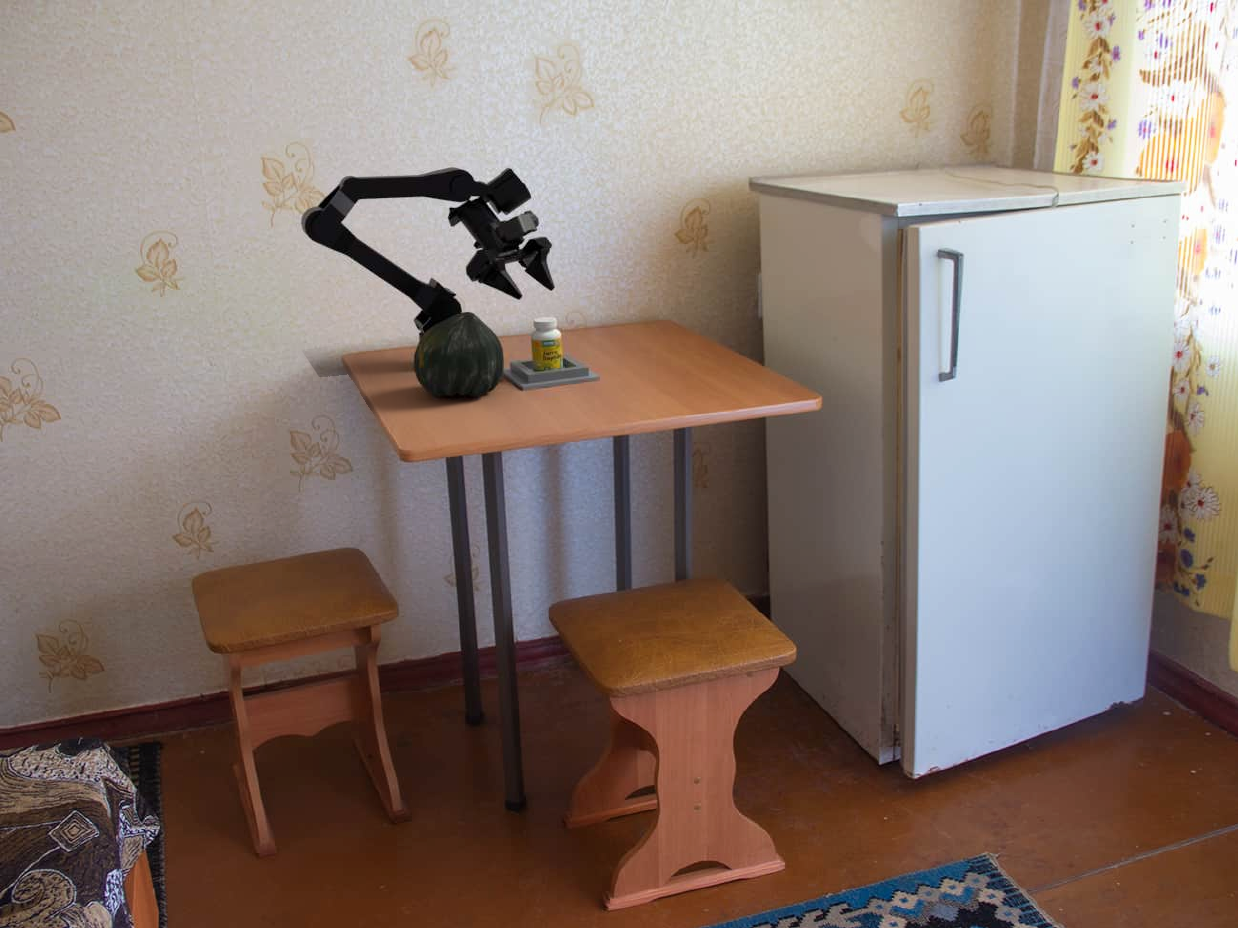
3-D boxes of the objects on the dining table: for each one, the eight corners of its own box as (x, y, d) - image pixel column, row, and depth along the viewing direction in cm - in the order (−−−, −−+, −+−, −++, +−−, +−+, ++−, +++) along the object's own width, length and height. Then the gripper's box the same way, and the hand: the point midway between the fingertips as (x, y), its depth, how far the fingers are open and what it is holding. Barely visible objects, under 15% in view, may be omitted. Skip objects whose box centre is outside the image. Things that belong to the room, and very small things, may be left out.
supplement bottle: (553, 367, 210) (550, 314, 207) (569, 372, 206) (566, 319, 203) (527, 372, 207) (524, 319, 204) (542, 378, 203) (539, 324, 200)
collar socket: (500, 372, 210) (499, 361, 210) (573, 362, 215) (572, 351, 214) (523, 390, 198) (522, 378, 197) (600, 379, 203) (599, 368, 202)
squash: (404, 355, 202) (413, 300, 190) (487, 348, 207) (501, 295, 195) (420, 423, 195) (431, 371, 183) (506, 414, 201) (521, 363, 188)
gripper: (472, 203, 199) (526, 272, 196) (541, 192, 213) (592, 256, 211) (442, 247, 206) (494, 314, 203) (511, 233, 220) (560, 295, 217)
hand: (537, 293), depth 208 cm, fingers open, 9 cm apart
